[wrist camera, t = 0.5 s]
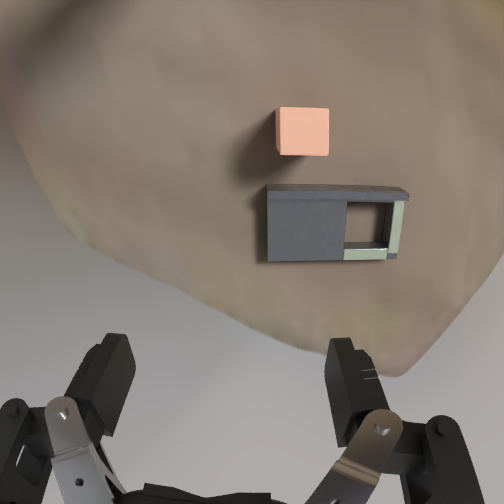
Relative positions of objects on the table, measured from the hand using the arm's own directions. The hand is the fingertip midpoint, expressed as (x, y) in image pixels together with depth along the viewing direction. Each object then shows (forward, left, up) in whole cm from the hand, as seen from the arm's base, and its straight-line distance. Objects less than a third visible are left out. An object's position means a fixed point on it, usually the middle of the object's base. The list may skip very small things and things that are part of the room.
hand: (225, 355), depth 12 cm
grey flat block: (+3, +9, -24) cm, 26 cm away
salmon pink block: (-7, +5, -24) cm, 26 cm away
